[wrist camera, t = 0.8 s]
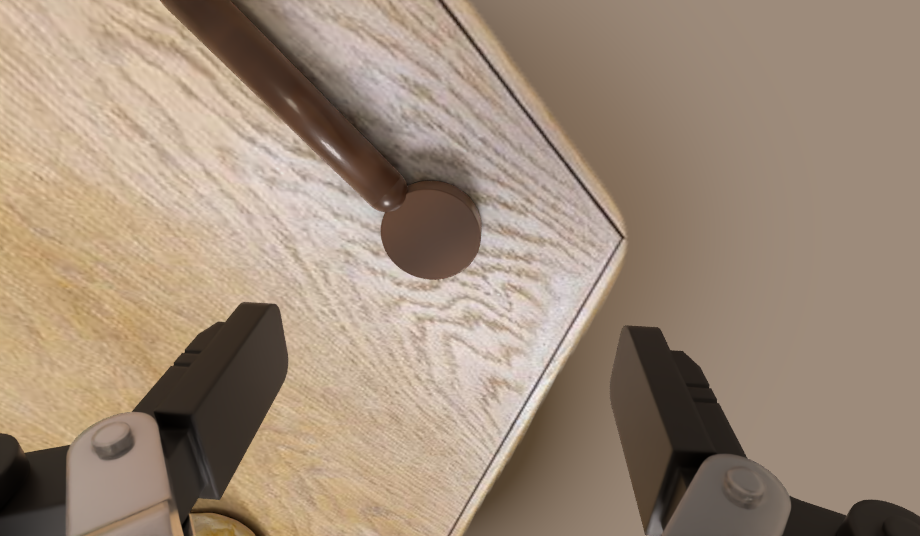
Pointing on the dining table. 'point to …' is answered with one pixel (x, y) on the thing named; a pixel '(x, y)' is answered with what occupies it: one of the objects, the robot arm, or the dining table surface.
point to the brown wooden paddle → (343, 146)
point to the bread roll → (218, 525)
